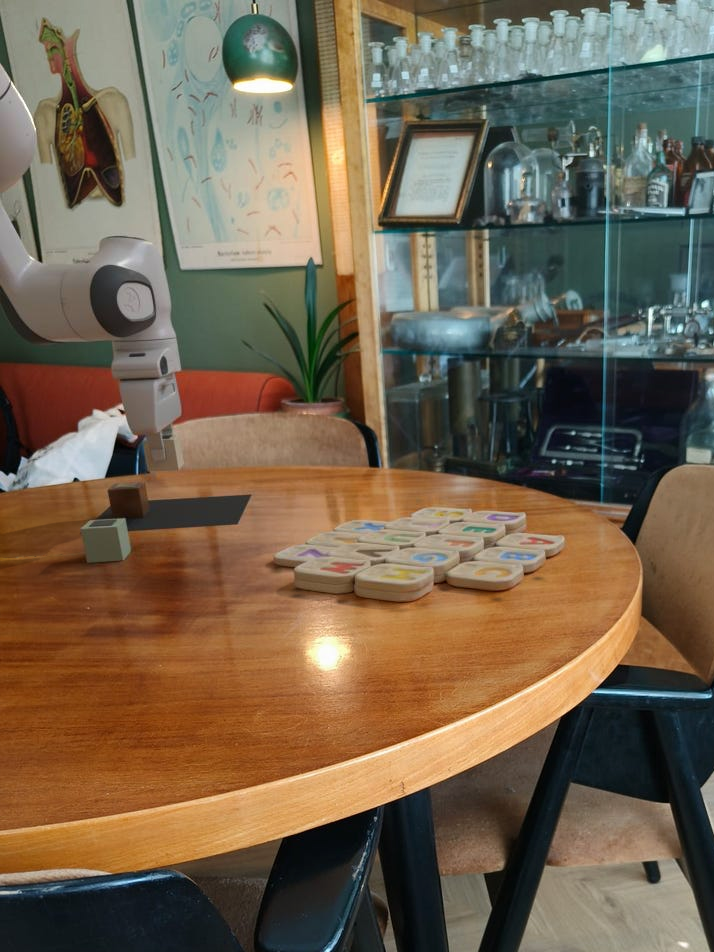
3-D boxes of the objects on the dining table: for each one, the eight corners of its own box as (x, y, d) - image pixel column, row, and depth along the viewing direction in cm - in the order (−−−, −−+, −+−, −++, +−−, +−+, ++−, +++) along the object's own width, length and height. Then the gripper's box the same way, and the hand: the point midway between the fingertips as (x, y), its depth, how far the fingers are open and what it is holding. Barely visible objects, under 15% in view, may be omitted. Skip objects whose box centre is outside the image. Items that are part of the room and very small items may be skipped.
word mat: (79, 536, 125) (79, 533, 125) (114, 504, 144) (114, 502, 144) (237, 526, 128) (237, 524, 128) (252, 496, 146) (251, 494, 146)
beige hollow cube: (147, 471, 131) (142, 440, 129) (154, 466, 135) (148, 435, 133) (178, 469, 131) (173, 438, 130) (184, 464, 135) (179, 433, 134)
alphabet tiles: (380, 514, 132) (379, 498, 131) (586, 534, 118) (587, 516, 118) (231, 579, 104) (228, 559, 103) (478, 614, 91) (477, 592, 90)
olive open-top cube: (87, 563, 113) (79, 528, 111) (96, 553, 117) (89, 519, 115) (123, 560, 113) (116, 525, 112) (131, 551, 117) (125, 517, 116)
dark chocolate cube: (112, 519, 133) (107, 489, 131) (120, 512, 137) (114, 483, 135) (143, 517, 133) (138, 487, 131) (150, 510, 137) (144, 481, 136)
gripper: (141, 356, 136) (156, 446, 142) (107, 367, 118) (126, 470, 123) (183, 354, 137) (196, 444, 142) (156, 365, 118) (173, 468, 124)
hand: (163, 456), depth 132 cm, fingers closed on beige hollow cube, 4 cm apart
